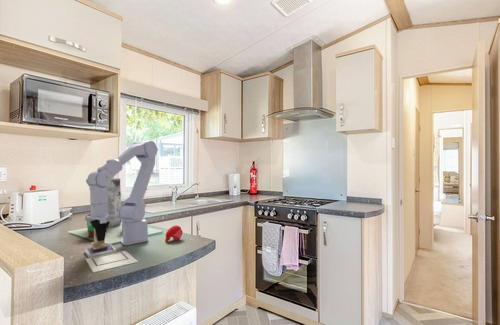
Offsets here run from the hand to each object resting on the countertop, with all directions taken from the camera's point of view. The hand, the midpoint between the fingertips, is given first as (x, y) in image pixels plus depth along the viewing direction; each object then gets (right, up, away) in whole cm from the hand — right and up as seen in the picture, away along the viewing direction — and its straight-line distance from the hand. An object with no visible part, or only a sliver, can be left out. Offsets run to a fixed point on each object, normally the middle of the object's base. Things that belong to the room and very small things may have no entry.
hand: (100, 239), depth 102 cm
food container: (-17, -6, +25) cm, 30 cm away
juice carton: (-21, -6, +47) cm, 52 cm away
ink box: (-5, -5, +36) cm, 36 cm away
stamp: (0, -3, 0) cm, 3 cm away
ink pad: (0, -5, 0) cm, 5 cm away
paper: (+9, -4, -10) cm, 14 cm away
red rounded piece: (+24, -4, +14) cm, 28 cm away
